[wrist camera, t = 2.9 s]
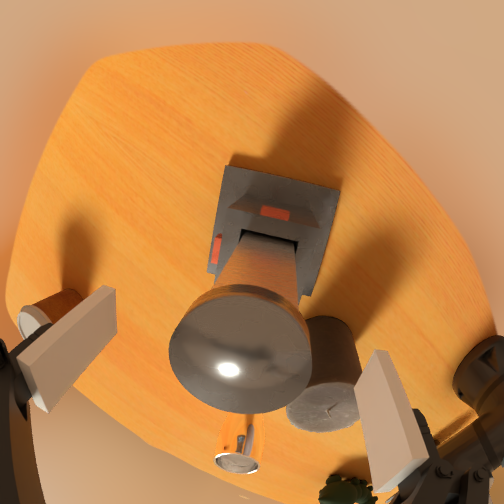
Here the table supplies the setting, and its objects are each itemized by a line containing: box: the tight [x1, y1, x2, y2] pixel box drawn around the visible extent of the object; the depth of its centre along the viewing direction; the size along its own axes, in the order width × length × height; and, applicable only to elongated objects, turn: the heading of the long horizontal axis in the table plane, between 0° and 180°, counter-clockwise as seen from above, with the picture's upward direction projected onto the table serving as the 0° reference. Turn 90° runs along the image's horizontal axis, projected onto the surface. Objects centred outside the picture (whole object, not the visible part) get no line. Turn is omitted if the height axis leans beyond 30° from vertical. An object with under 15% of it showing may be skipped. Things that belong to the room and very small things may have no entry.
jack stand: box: [207, 165, 340, 305], centre depth 31 cm, size 14×14×12 cm
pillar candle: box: [286, 316, 362, 433], centre depth 34 cm, size 10×10×15 cm
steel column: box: [169, 230, 312, 414], centre depth 23 cm, size 6×6×24 cm
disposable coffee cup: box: [17, 289, 83, 340], centre depth 39 cm, size 10×10×12 cm
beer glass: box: [214, 412, 265, 474], centre depth 38 cm, size 7×7×15 cm
